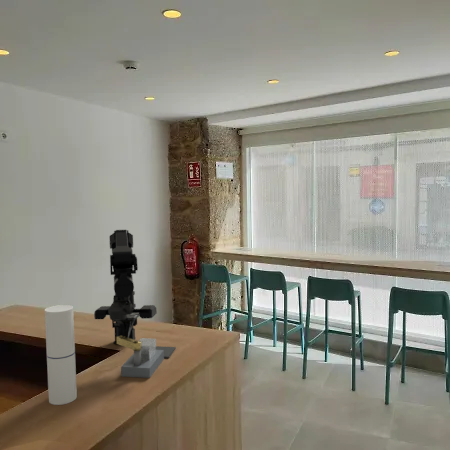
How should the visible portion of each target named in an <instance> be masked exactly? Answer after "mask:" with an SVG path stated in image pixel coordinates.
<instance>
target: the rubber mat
mask: <svg viewBox="0 0 450 450" xmlns="http://www.w3.org/2000/svg"><path fill="white" fill-rule="evenodd" d="M156 350H164V359H170V357H171V356H172V354H173V353H174V352H175V351H176V346H161V345H159V346H158V345H156Z"/></svg>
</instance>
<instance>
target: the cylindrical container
mask: <svg viewBox="0 0 450 450" xmlns="http://www.w3.org/2000/svg"><path fill="white" fill-rule="evenodd" d="M74 316H75V315H74V306H73V305H71V304H70V305H69V304H59V305H52V306H47V307H46V308H45V309H44V321H45V322H44V324H45V343H46V344H45V345H46V365H47V367H46V368H47V370H46V371H47V388H48V402H49V404H51V405H54V406H58V405H59V406H61V405H66V404H67V405H68V404H70V403H71V402H73V401H75V400H76V399H77V396H78V395H77V393H78V392H77V372H76V371H77V368H76V347H75V346H76V344H75V343H76V341H75V321H74V318H75V317H74Z"/></svg>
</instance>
